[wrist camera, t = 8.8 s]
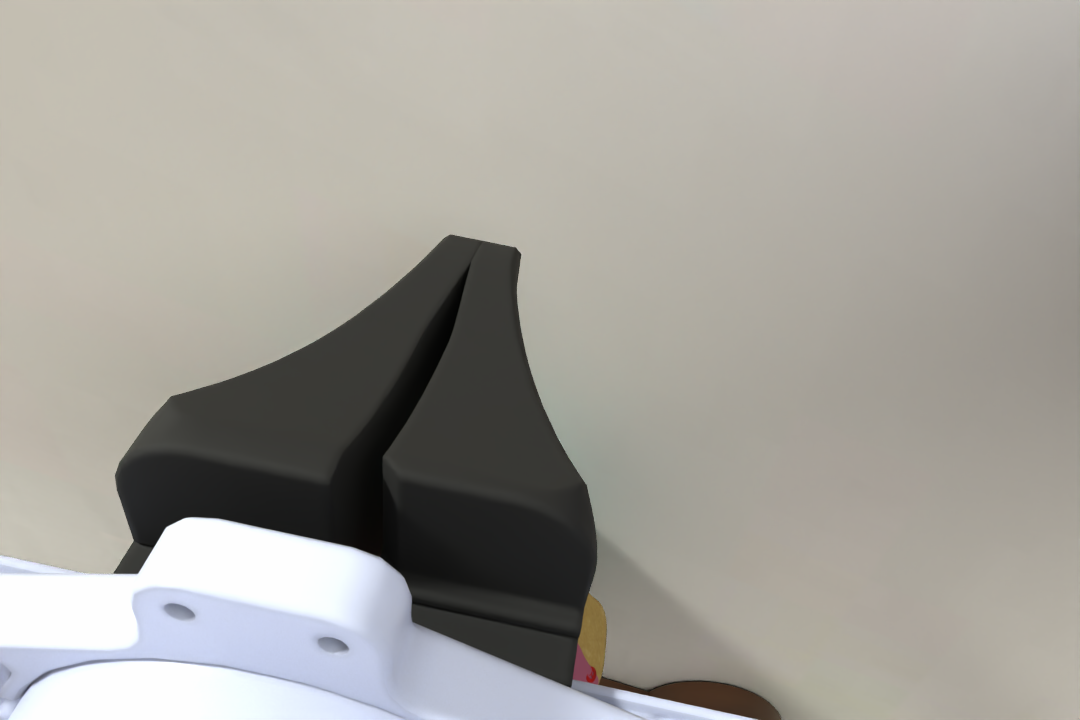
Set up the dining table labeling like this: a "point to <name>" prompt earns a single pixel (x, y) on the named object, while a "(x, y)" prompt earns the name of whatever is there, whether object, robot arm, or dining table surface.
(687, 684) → the spoon
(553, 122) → the dining table surface
